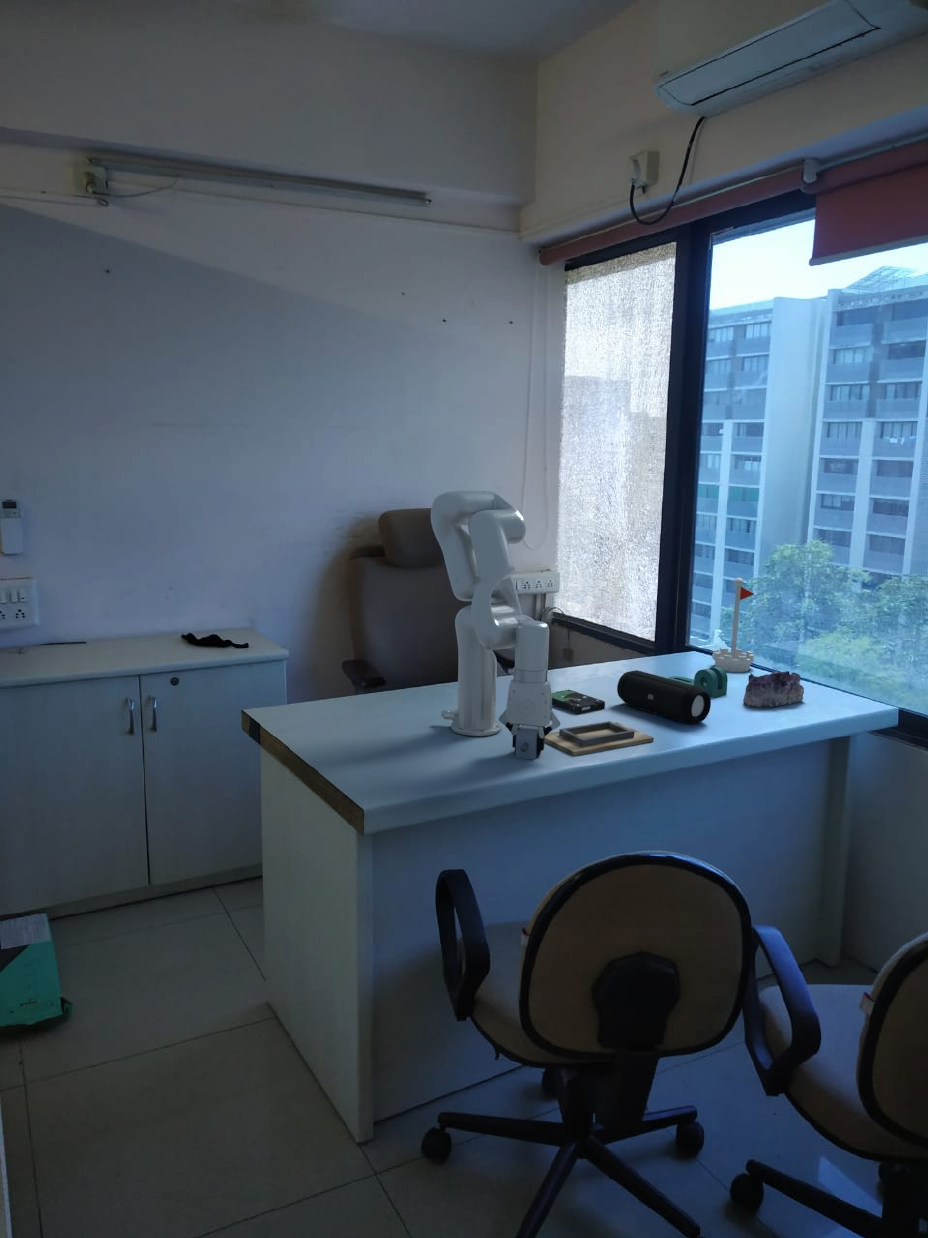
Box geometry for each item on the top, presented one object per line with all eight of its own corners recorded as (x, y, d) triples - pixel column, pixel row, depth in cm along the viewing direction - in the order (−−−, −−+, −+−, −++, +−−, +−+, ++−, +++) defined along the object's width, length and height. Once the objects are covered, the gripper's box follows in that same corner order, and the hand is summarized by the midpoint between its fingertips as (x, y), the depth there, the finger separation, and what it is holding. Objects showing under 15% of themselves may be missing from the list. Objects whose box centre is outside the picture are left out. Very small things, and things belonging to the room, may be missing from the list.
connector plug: (513, 760, 207) (514, 735, 206) (522, 746, 217) (523, 722, 216) (532, 762, 206) (533, 737, 205) (541, 748, 216) (542, 723, 215)
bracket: (726, 695, 268) (728, 669, 266) (712, 698, 264) (714, 672, 262) (676, 682, 282) (678, 657, 280) (662, 685, 277) (664, 660, 276)
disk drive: (605, 711, 250) (568, 698, 262) (606, 701, 250) (568, 688, 262) (577, 717, 244) (541, 703, 256) (578, 706, 244) (541, 693, 255)
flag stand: (713, 671, 296) (720, 579, 290) (709, 662, 308) (716, 574, 303) (755, 674, 294) (763, 581, 288) (749, 664, 306) (757, 575, 301)
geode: (769, 714, 250) (767, 677, 249) (734, 709, 259) (732, 674, 258) (812, 700, 262) (810, 665, 261) (777, 696, 271) (775, 662, 270)
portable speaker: (613, 705, 254) (615, 670, 252) (638, 700, 260) (640, 666, 258) (687, 729, 234) (690, 691, 232) (711, 722, 240) (714, 685, 238)
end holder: (539, 738, 223) (539, 729, 223) (616, 726, 235) (617, 716, 234) (573, 756, 211) (574, 745, 211) (653, 741, 223) (654, 731, 223)
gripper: (491, 675, 207) (488, 753, 211) (565, 682, 203) (561, 761, 207) (498, 668, 215) (496, 743, 218) (570, 674, 210) (566, 750, 214)
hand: (528, 751), depth 212 cm, fingers closed on connector plug, 4 cm apart
